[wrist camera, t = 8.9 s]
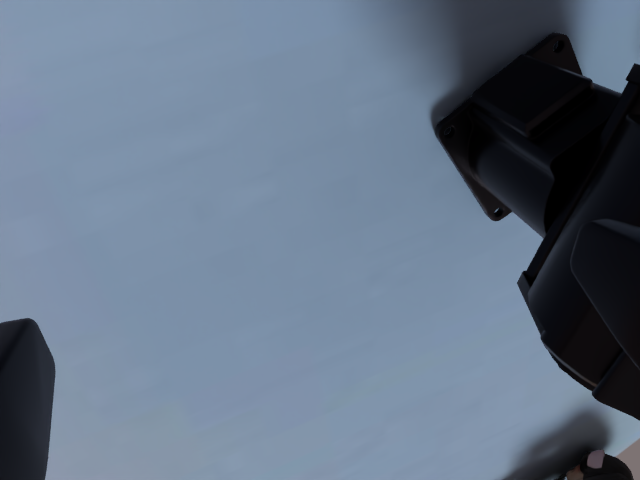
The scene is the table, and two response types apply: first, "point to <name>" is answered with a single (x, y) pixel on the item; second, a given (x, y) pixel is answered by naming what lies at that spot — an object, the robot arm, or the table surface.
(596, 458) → the toy figure
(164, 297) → the table surface
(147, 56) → the table surface
